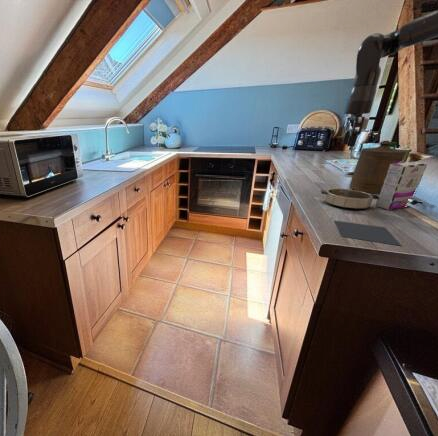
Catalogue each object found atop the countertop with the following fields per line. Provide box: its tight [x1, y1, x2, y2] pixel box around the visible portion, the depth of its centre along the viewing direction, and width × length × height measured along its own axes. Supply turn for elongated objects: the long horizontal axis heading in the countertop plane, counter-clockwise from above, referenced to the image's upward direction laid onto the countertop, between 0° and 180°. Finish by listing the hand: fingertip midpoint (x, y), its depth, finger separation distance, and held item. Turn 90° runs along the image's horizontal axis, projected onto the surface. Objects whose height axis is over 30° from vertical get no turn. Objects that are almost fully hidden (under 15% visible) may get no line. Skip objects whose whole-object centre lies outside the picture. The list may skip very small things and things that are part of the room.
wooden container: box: [349, 140, 407, 195], centre depth 110 cm, size 15×15×22 cm
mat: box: [334, 220, 402, 247], centre depth 73 cm, size 13×13×1 cm
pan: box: [320, 188, 379, 210], centre depth 94 cm, size 18×14×5 cm
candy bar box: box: [375, 161, 428, 211], centre depth 89 cm, size 11×5×16 cm, turn 105°
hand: (347, 145), depth 96 cm, fingers open, 8 cm apart
